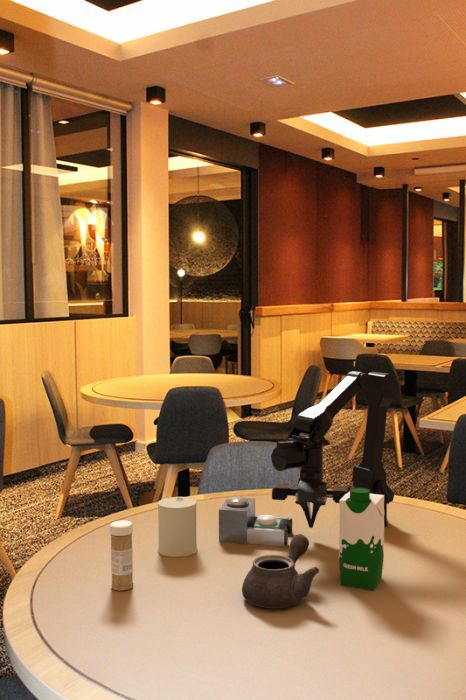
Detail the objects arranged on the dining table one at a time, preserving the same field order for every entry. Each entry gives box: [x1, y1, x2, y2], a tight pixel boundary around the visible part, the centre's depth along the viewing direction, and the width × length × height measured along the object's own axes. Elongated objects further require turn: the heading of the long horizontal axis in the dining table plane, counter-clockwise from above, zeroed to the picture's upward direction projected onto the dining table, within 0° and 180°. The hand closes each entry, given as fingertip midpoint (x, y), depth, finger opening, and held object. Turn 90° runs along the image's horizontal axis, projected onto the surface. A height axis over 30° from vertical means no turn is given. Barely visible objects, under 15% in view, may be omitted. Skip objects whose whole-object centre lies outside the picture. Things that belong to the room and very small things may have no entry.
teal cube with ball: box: [254, 514, 280, 529], centre depth 176 cm, size 6×6×5 cm
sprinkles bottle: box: [109, 520, 134, 592], centre depth 146 cm, size 5×5×13 cm
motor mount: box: [218, 496, 293, 547], centre depth 176 cm, size 17×11×9 cm, turn 78°
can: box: [157, 496, 198, 558], centre depth 167 cm, size 9×9×12 cm
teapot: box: [241, 533, 320, 609], centre depth 142 cm, size 19×15×10 cm
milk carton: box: [338, 487, 385, 591], centre depth 148 cm, size 9×9×20 cm
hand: (311, 527), depth 174 cm, fingers closed
